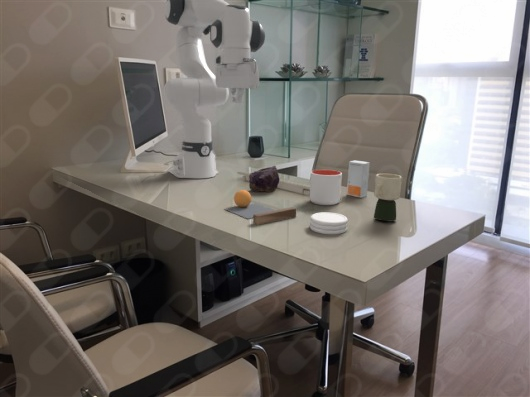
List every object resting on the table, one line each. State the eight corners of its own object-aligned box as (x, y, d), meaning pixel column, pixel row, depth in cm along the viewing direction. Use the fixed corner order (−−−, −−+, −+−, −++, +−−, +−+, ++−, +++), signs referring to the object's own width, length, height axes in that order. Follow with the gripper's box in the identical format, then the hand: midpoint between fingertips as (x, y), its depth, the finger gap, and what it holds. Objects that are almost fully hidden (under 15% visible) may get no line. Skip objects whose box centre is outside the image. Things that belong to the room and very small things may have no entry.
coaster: (322, 221, 125) (323, 209, 124) (353, 229, 119) (354, 216, 118) (302, 229, 118) (302, 217, 117) (334, 238, 111) (335, 225, 111)
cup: (322, 196, 152) (323, 168, 149) (346, 202, 145) (348, 172, 142) (303, 201, 145) (304, 172, 142) (327, 208, 138) (329, 176, 135)
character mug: (384, 213, 133) (388, 171, 129) (405, 219, 128) (410, 175, 124) (363, 220, 126) (366, 176, 122) (384, 226, 120) (388, 180, 117)
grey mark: (224, 209, 134) (224, 208, 134) (256, 203, 141) (256, 203, 141) (247, 219, 125) (247, 218, 125) (280, 212, 132) (280, 211, 132)
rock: (247, 192, 161) (263, 198, 153) (244, 170, 158) (260, 174, 150) (272, 184, 167) (289, 188, 159) (270, 162, 164) (286, 166, 156)
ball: (243, 195, 132) (238, 211, 134) (256, 194, 135) (252, 209, 138) (232, 187, 135) (228, 202, 137) (246, 186, 139) (242, 201, 141)
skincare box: (346, 195, 155) (348, 161, 152) (352, 193, 158) (354, 160, 155) (361, 198, 151) (363, 163, 148) (367, 196, 154) (370, 162, 151)
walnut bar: (253, 223, 121) (253, 214, 121) (291, 215, 130) (291, 206, 129) (257, 225, 120) (257, 216, 119) (295, 216, 128) (296, 208, 127)
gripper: (264, 58, 136) (263, 103, 139) (227, 60, 151) (227, 101, 155) (247, 56, 132) (247, 104, 135) (211, 59, 147) (212, 101, 151)
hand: (236, 102), depth 145 cm, fingers closed
